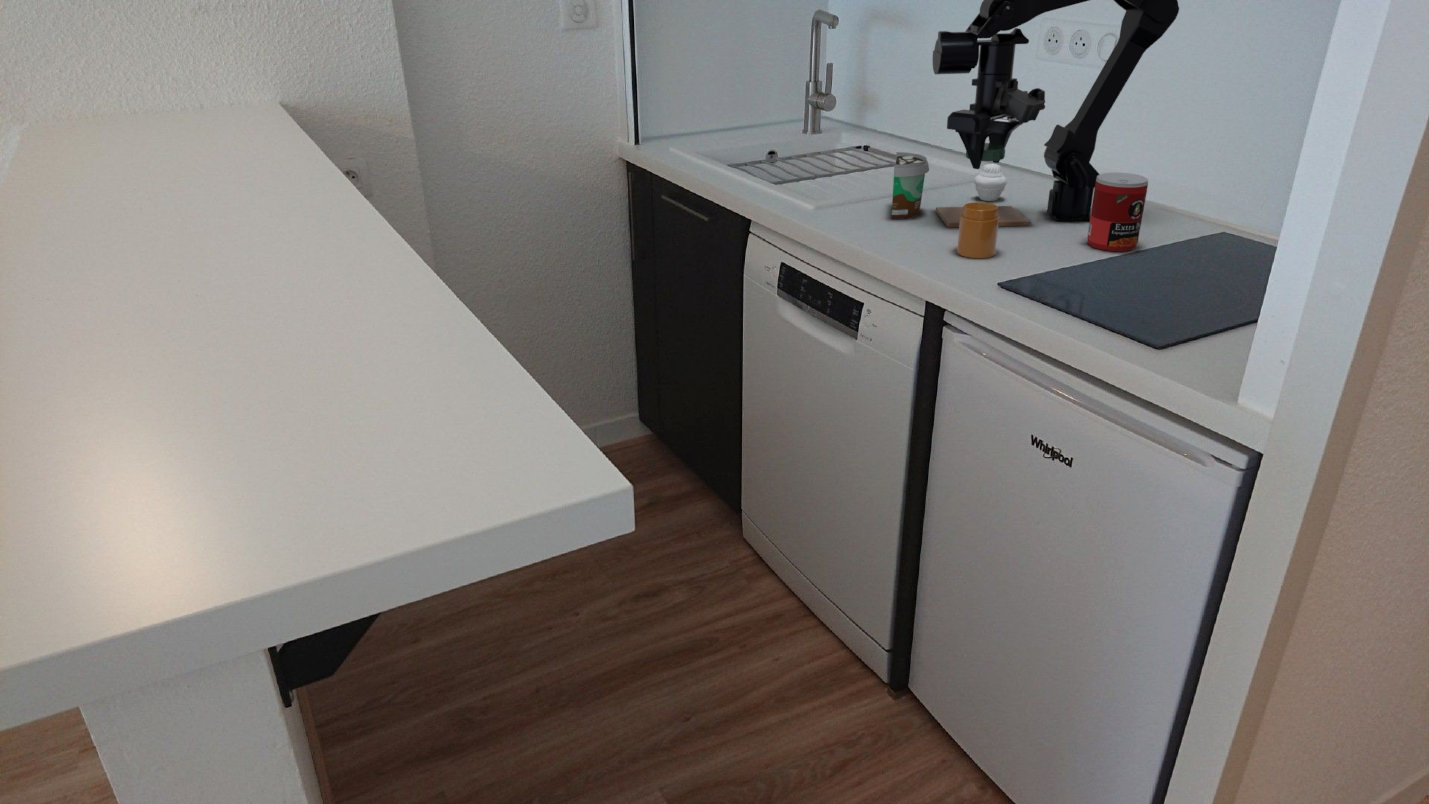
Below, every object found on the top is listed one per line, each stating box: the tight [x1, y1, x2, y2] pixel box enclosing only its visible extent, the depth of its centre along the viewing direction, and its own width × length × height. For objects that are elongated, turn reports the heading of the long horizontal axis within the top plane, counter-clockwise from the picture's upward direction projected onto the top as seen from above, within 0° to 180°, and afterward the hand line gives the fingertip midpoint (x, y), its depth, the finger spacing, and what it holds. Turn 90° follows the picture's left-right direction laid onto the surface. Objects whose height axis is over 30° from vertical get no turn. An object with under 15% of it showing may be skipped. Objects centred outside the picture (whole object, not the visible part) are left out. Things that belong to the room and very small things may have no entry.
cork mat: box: [935, 205, 1029, 228], centre depth 172 cm, size 14×11×1 cm
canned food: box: [1086, 172, 1149, 252], centre depth 153 cm, size 8×8×11 cm
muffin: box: [973, 162, 1008, 202], centre depth 183 cm, size 6×6×7 cm
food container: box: [890, 151, 930, 220], centre depth 175 cm, size 12×6×10 cm, turn 168°
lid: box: [965, 142, 1006, 162], centre depth 167 cm, size 6×6×2 cm
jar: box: [956, 201, 999, 259], centre depth 152 cm, size 6×6×8 cm
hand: (986, 165), depth 168 cm, fingers closed on lid, 6 cm apart
